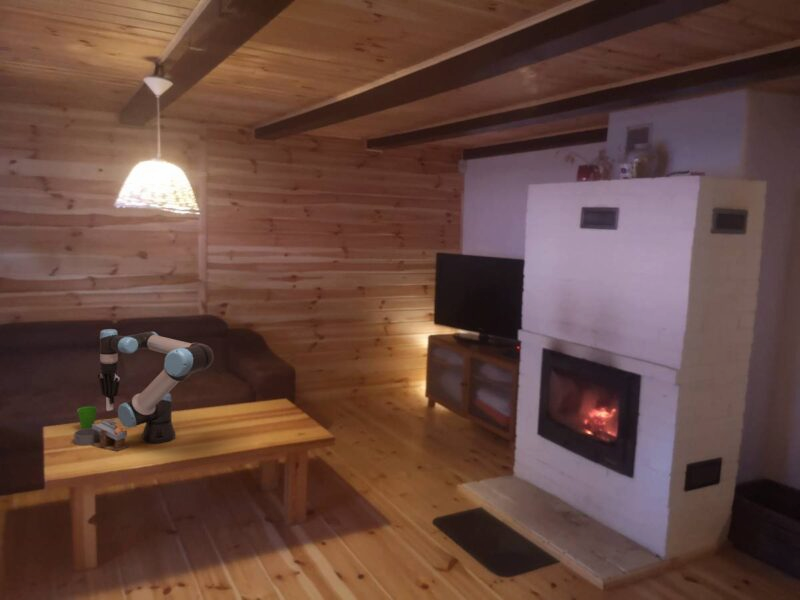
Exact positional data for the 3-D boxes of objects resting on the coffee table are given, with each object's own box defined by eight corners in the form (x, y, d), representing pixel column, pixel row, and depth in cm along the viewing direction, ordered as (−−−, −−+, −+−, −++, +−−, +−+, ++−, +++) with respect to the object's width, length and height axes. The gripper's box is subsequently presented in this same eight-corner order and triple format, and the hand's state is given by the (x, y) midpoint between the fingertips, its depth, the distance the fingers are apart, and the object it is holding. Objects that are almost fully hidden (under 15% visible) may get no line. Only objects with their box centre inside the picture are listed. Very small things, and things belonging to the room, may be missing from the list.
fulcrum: (130, 446, 297) (130, 428, 296) (115, 452, 288) (115, 434, 287) (104, 440, 302) (104, 423, 301) (89, 446, 294) (89, 428, 293)
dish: (106, 439, 304) (106, 430, 303) (86, 446, 293) (86, 437, 293) (88, 435, 308) (88, 426, 307) (69, 442, 297) (68, 433, 297)
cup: (89, 434, 310) (89, 412, 309) (73, 432, 312) (72, 410, 310) (101, 428, 319) (101, 407, 317) (85, 426, 321) (85, 405, 319)
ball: (124, 434, 294) (124, 427, 293) (118, 437, 291) (118, 429, 290) (118, 433, 295) (118, 426, 295) (112, 435, 292) (112, 428, 291)
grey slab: (136, 433, 300) (137, 427, 300) (117, 440, 290) (118, 434, 289) (110, 421, 306) (111, 415, 305) (91, 427, 295) (92, 422, 295)
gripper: (125, 362, 301) (126, 410, 304) (105, 358, 306) (106, 405, 309) (112, 365, 294) (113, 414, 297) (92, 361, 299) (93, 409, 302)
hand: (109, 409), depth 303 cm, fingers closed
